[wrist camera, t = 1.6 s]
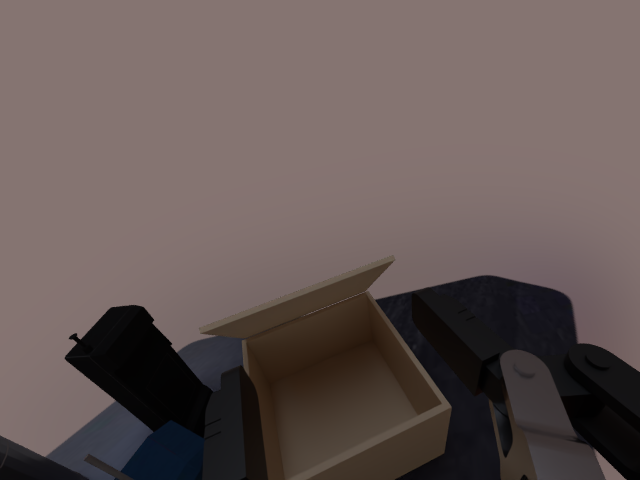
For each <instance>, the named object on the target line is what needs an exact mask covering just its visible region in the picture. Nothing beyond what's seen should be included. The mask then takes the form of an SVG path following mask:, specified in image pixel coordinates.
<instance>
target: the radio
mask: <svg viewBox="0 0 640 480" xmlns="http://www.w3.org/2000/svg"><path fill="white" fill-rule="evenodd" d="M204 442H205V439H204V438H202V437H200V436H198V435H197V434H195V433H193V432H191V431H190V430H188V429H186V428H184V427H183V426H181V425H179V424H177V423H176V422H174V421H172V420H170V421H169V422H167V423H166V424H165V425H163V426H162V427H161V428H159V429H158V430H156V431H155V432H154V433H152V434H151V435H150V436H148V437H147V438H146V440H145V441H144V442H143V444H142V445H141V446H140V447H139V449H138V450H137V451H136V452H135V454H134V455H133V456H132V458H131V459H130V460H129V461H128V463H127V464H126V465H125V467H124V468H123V469H122V470H121V472H120V471H118V470H116V469H114V468H113V467H111V466H109V465H107V464H106V463H104V462H102V461H100V460H98V459H97V458H95V457H93V456H91V455H90V454H88V455H87V456H86V457H85V458H84V461H86V462H88V463H90V464H92V465H94V466H95V467H97V468H99V469H101V470H103V471H105V472H107V473H108V474H110V475H112V476H114V477H116V478H115V479H114V480H202V473H203V453H204Z"/></svg>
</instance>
